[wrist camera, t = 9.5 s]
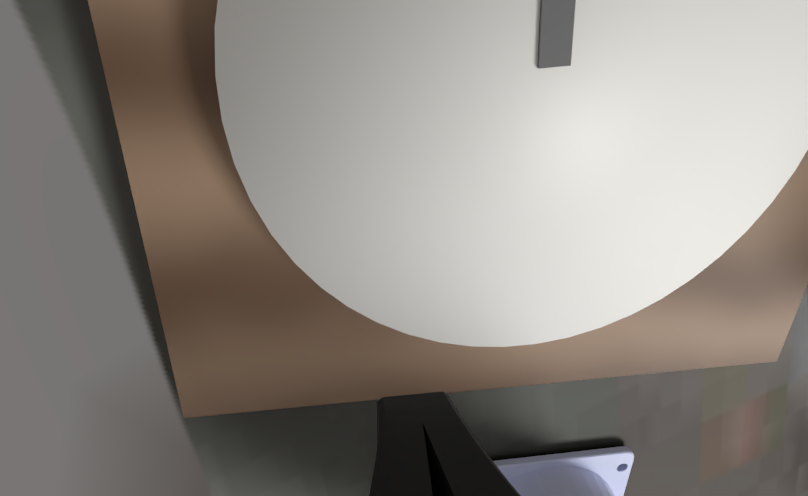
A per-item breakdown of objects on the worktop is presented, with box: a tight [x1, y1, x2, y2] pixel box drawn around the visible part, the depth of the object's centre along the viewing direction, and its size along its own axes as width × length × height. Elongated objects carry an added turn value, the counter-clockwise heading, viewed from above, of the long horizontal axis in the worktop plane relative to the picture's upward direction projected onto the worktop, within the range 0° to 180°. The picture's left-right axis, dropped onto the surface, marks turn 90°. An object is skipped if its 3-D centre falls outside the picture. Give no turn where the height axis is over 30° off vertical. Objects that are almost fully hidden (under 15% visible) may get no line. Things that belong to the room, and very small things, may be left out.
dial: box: [215, 0, 808, 347], centre depth 15 cm, size 18×18×4 cm
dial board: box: [88, 0, 808, 418], centre depth 18 cm, size 24×24×1 cm
